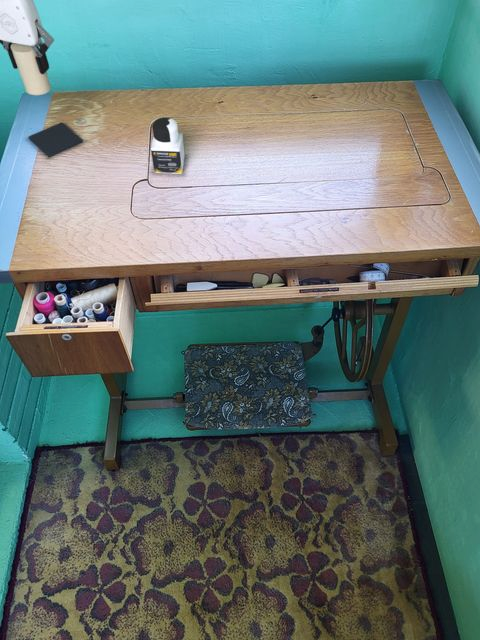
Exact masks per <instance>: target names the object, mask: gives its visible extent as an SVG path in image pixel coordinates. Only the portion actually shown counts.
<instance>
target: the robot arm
mask: <svg viewBox="0 0 480 640" xmlns="http://www.w3.org/2000/svg"><path fill="white" fill-rule="evenodd" d="M42 39H43V40H42ZM54 42H55V39H54V37H53V36H52V35H51V34H50V33H49V32H48V31H47V30H46V29H45V28H44V26H43V23H42V21H41V17H40V15H39V11H38V9H37V6H36V4H35V2H34V0H0V44H1V45H2V48H3V50H5V51H6V52H7V55H8V57H9V59H10V62H11V65H12V68H13V69H14V70H15V69H16V70H18V67H17V65H16V62H15V59H14V56H13V53H12V50H11V44H12V43H16V44H21V45H27V46H31V47H32V48H33V50H34V51H35V53H36V55H37V56H36V57H35V59H36V62H37V65H38V68H39V71H40V73H41V74H44V73H45V72H46V71H48V70H49V69H50V63H49V60H48V57H47V54H46V53H47V52H48V50H49V49H50V47H51V45H53V43H54ZM36 43H37V44H38V45H39V48H40V49H39V48H38V46H37V44H36Z"/></svg>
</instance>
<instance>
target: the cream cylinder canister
mask: <svg viewBox="0 0 480 640" xmlns="http://www.w3.org/2000/svg"><path fill="white" fill-rule="evenodd" d="M36 44H37V43H36ZM37 46H38V48H39V49H40V47H39V45H38V44H37ZM11 50H12V53H13V56H14V59H15V62H16V65H17V67H18V68H17V70H18V73H19V76H20V78H21V81H22V84H23V88H24V90H25V93H27V94H28V95H30V96H41V95H45V94H47V93H48V92H50V91H51V89H52V85H51V81H50V78H49V75H48V72H47V71H48V70H47V71H46V72H45V73H44V74H41V73H40V71H39V68H38V65H37V62H36V59H35V57H36V56H37V55H36V53H35V51H34V50H33V48H32V47H31V46H27V45H21V44H16V43H12V44H11Z"/></svg>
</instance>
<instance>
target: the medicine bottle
mask: <svg viewBox="0 0 480 640" xmlns="http://www.w3.org/2000/svg"><path fill="white" fill-rule="evenodd" d="M151 128H152V134H153V137H152V142H151V147H150V153H151V161H152V167H153V172H154V173H155V174H173V175H174V174H175V175H176V174H177V175H182V174H183V173H184V172H183V171H184V165H185V158H186V157H185V146H184V136H183V133H182V132H179V125H178V123H177V121H176V120H174V119H173V118H170V117H160V118H157V119H155V120H154V121H153V123H152V124H151Z"/></svg>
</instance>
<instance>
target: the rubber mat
mask: <svg viewBox="0 0 480 640" xmlns="http://www.w3.org/2000/svg"><path fill="white" fill-rule="evenodd" d="M28 140H29V141H30V142H31V143H33V144H34V145H35V146H36V147H37V148H38V150H40V151H41V152H42V153H44V155H45V156H46V157H48V158H51V157H54V156H56V155H57V154H61V153H63V152H64V151H67V150H69V149H72V148H73V147H77V146H78V145H80V144H82V143H83V140H82V139H81V138H80V137H79V135H77V134H76V133H75V132H74V131H73V130H71V129H70V128H69V127H68V126H67V125H66V124H64V123H63V122H59V123H57V124H55V125H52V126H50V127H48V128H45V129H43V130H41V131H38V132H36V133H34V134H32V135H29V136H28Z"/></svg>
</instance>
